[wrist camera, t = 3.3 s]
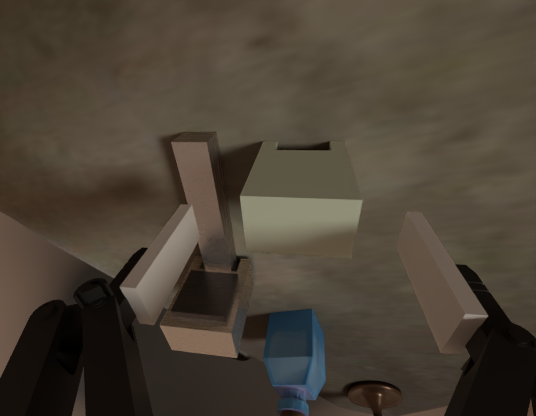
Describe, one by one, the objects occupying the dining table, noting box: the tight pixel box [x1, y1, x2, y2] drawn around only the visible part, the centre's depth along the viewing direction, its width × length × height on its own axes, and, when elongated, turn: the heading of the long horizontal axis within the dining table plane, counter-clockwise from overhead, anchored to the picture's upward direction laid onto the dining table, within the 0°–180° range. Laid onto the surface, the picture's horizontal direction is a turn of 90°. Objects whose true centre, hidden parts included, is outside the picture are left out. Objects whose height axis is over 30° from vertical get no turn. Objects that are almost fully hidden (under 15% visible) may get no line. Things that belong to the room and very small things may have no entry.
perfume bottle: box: [263, 309, 326, 416], centre depth 32 cm, size 6×6×12 cm
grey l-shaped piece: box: [160, 132, 254, 358], centre depth 25 cm, size 22×7×10 cm, turn 3°
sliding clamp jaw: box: [240, 141, 363, 258], centre depth 19 cm, size 5×7×9 cm
